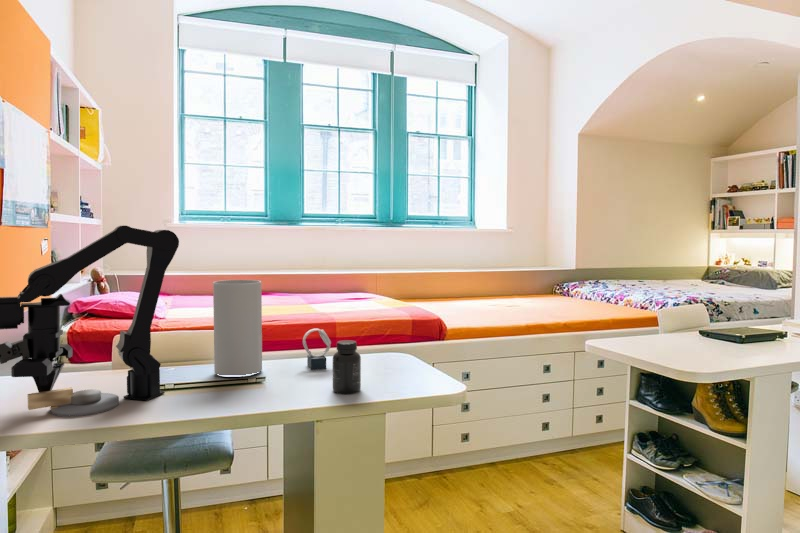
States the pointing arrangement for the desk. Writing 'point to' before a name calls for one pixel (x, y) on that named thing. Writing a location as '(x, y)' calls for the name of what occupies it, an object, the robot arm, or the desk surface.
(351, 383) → the supplement bottle
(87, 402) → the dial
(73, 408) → the dial plate
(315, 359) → the watch
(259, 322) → the cylinder vase
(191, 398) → the desk surface
